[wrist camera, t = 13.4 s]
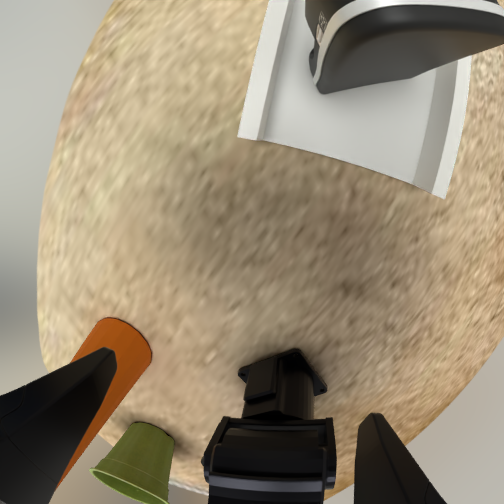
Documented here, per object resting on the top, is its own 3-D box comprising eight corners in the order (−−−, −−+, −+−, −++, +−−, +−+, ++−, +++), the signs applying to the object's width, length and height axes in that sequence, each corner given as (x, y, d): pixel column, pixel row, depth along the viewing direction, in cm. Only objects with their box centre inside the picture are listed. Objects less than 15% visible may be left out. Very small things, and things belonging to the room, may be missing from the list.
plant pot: (200, 457, 35) (182, 514, 25) (139, 445, 38) (117, 494, 28) (172, 417, 31) (143, 487, 21) (105, 405, 34) (73, 459, 23)
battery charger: (394, 28, 12) (481, -53, 1) (415, 79, 13) (534, 39, 3) (294, 44, 14) (289, -70, 3) (315, 97, 15) (352, 32, 4)
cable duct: (418, 186, 17) (444, 199, 13) (249, 137, 17) (237, 136, 14) (446, 20, 11) (471, 4, 7) (289, -33, 12) (287, -62, 8)
